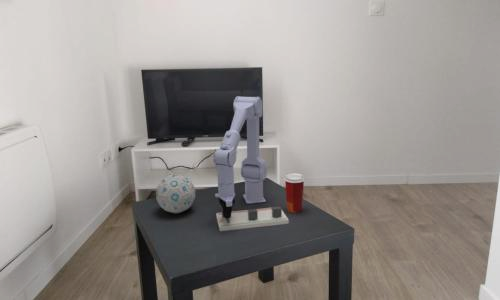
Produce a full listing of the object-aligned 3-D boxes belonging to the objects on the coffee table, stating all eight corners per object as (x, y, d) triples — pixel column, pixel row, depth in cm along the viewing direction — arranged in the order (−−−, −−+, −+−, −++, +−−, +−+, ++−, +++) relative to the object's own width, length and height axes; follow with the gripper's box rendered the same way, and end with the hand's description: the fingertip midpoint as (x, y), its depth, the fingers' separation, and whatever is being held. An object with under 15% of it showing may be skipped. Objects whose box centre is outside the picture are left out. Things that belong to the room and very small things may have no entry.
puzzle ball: (149, 215, 146) (145, 178, 142) (174, 201, 159) (171, 167, 155) (180, 222, 139) (177, 184, 135) (204, 207, 152) (201, 172, 148)
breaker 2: (247, 217, 137) (247, 209, 137) (256, 216, 138) (256, 208, 137) (248, 219, 136) (248, 212, 135) (257, 218, 136) (257, 211, 135)
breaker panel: (216, 216, 143) (216, 213, 142) (279, 210, 147) (279, 206, 147) (219, 231, 132) (219, 227, 131) (288, 223, 136) (288, 219, 136)
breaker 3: (271, 214, 139) (271, 207, 138) (280, 214, 140) (280, 206, 139) (273, 217, 137) (273, 209, 136) (281, 216, 138) (281, 208, 137)
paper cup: (305, 206, 150) (305, 173, 146) (302, 214, 143) (303, 180, 139) (286, 205, 152) (286, 172, 148) (282, 213, 145) (282, 178, 141)
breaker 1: (221, 214, 140) (221, 207, 139) (230, 214, 141) (230, 206, 140) (222, 217, 138) (222, 209, 137) (231, 216, 139) (230, 208, 138)
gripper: (212, 176, 140) (214, 210, 143) (216, 190, 126) (218, 227, 129) (231, 174, 141) (232, 208, 144) (237, 188, 127) (238, 225, 131)
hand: (227, 217), depth 137 cm, fingers closed
